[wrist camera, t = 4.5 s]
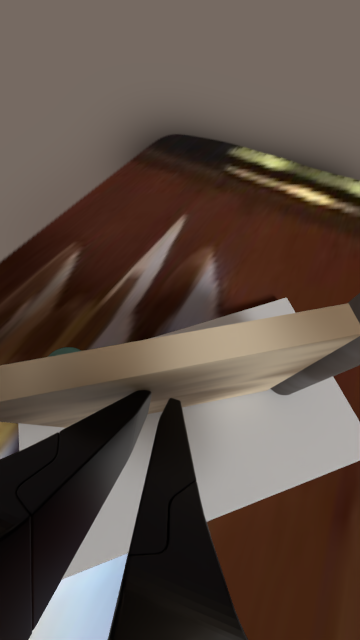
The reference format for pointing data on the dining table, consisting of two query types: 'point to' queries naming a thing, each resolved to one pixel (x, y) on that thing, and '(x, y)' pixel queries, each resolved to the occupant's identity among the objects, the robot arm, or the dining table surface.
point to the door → (185, 366)
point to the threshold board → (229, 449)
